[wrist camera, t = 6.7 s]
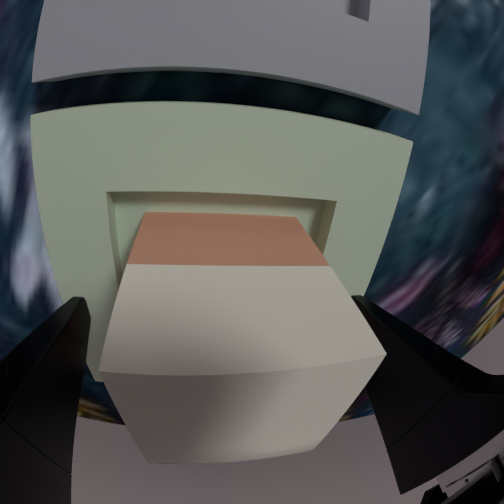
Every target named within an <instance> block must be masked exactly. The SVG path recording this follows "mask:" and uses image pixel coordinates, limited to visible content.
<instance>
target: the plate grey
mask: <svg viewBox="0 0 504 504" xmlns="http://www.w3.org/2000/svg"><path fill="white" fill-rule="evenodd" d="M429 29H430V0H44V4H43V8H42V13H41V18H40V23H39V28H38V33H37V39H36V46H35V54H34V62H33V73H32V83H33V82H56V81H62V80H67V79H73V78H80V77H87V76H95V75H103V74H114V73H126V72H145V71H194V72H214V73H227V74H237V75H247V76H255V77H262V78H269V79H276V80H282V81H288V82H293V83H298V84H303V85H308V86H313V87H317V88H322V89H326V90H330V91H334V92H338V93H342V94H346V95H350V96H353V97H357V98H360V99H364V100H367V101H370V102H373V103H376V104H380V105H383V106H386V107H388V108H391V109H396V110H400V111H405V112H409V113H413V114H417V115H419V111H420V105H421V99H422V93H423V87H424V80H425V72H426V64H427V54H428V43H429Z"/></svg>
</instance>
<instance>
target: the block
mask: <svg viewBox="0 0 504 504" xmlns="http://www.w3.org/2000/svg"><path fill="white" fill-rule="evenodd" d="M386 354H387V353H386V352H385V350H384V348H383V347H382V345H381V344H380V342H379V340H378V339H377V337H376V335H375V334H374V332H373V331H372V329H371V327H370V326H369V324H368V323H367V321H366V319H365V318H364V316H363V315H362V313H361V312H360V310H359V309H358V307H357V305H356V304H355V302H354V301H353V299H352V298H351V296H350V295H349V293H348V292H347V290H346V289H345V287H344V286H343V284H342V283H341V281H340V280H339V278H338V277H337V275H336V274H335V272H334V271H333V269H332V268H331V266H330V265H329V263H328V262H327V260H326V259H325V258H324V256H323V255H322V253H321V252H320V250H319V249H318V247H317V246H316V245H315V243H314V242H313V240H312V239H311V238H310V236H309V235H308V233H307V232H306V230H305V229H304V228H303V226H302V225H301V224H300V222H299V221H298V219H297V218H296V217H289V216H270V215H249V214H224V213H190V212H145V214H144V216H143V219H142V222H141V224H140V227H139V230H138V232H137V235H136V238H135V241H134V244H133V247H132V249H131V252H130V255H129V258H128V261H127V264H126V268H125V271H124V274H123V277H122V280H121V284H120V287H119V290H118V294H117V297H116V301H115V304H114V308H113V312H112V315H111V319H110V323H109V327H108V331H107V335H106V339H105V343H104V348H103V352H102V357H101V362H100V366H99V373H100V375H101V378H102V380H103V382H104V384H105V386H106V388H107V390H108V392H109V394H110V396H111V398H112V400H113V402H114V404H115V406H116V408H117V410H118V412H119V414H120V416H121V418H122V419H123V421H124V423H125V425H126V426H127V428H128V430H129V432H130V433H131V435H132V437H133V438H134V440H135V441H136V443H137V445H138V447H139V448H140V450H141V451H142V453H143V455H144V456H145V458H146V459H147V461H148V462H149V463H157V464H212V463H229V462H240V461H250V460H258V459H265V458H273V457H279V456H285V455H290V454H296V453H301V452H306V451H311V450H313V449H314V448H315V447H316V446H317V445H318V444H319V443H320V442H321V440H322V439H323V438H324V437H325V436H326V435H327V434H328V432H329V431H330V430H331V429H332V428H333V427H334V425H335V424H336V423H337V422H338V421H339V419H340V418H341V417H342V416H343V414H344V413H345V412H346V411H347V409H348V408H349V407H350V406H351V404H352V403H353V402H354V400H355V399H356V398H357V396H358V395H359V394H360V392H361V391H362V389H363V388H364V387H365V385H366V384H367V383H368V381H369V380H370V378H371V377H372V375H373V374H374V372H375V371H376V369H377V368H378V367H379V365H380V363H381V362H382V360H383V359H384V357H385V356H386Z"/></svg>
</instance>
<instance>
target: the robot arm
mask: <svg viewBox="0 0 504 504" xmlns="http://www.w3.org/2000/svg"><path fill="white" fill-rule="evenodd" d="M351 298H352V299H353V301H354V302H355V304H356V305H357V307H358V309H359V310H360V312H361V313H362V315H363V316H364V318H365V319H366V321H367V323H368V324H369V326H370V327H371V329H372V331H373V332H374V334H375V335H376V337H377V339H378V340H379V342H380V344H381V345H382V347H383V348H384V350H385V352H386V353H387V354H386V356H385V357H384V359H383V360H382V362H381V363H380V365H379V367H378V368H377V369H376V371H375V372H374V374H373V375H372V377H371V378H370V380H369V381H368V383H367V384H366V385H365V388H366V391H367V393H368V396H369V399H370V402H371V404H372V407H373V410H374V413H375V416H376V419H377V421H378V425H379V427H380V430H381V434H382V436H383V440H384V443H385V446H386V448H387V452H388V455H389V459H390V462H391V465H392V468H393V471H394V475H395V478H396V482H397V485H398V488H399V491H400V494H401V495H402V494H404V493H406V492H408V491H410V490H412V489H414V488H416V487H418V486H420V485H422V484H423V483H425V482H427V481H429V480H431V479H433V478H435V477H436V479H437V481H438V484H437V485H435V486H434V487H432V488H430V489H429V490H427V491H425V493H424V496H423V499H422V501H421V504H504V375H491V374H487V373H485V372H483V371H481V370H479V369H478V368H476V367H474V366H472V365H471V364H468V363H467V362H465V361H463V360H462V359H460V358H458V357H457V356H455V355H453V354H451V353H450V352H448V351H447V350H445V349H444V348H442V347H441V346H439V345H438V344H436V343H433V341H431V340H430V339H428V338H427V337H425V336H424V335H422V334H421V333H419V332H418V331H416V330H415V329H413V328H412V327H410V326H409V325H407V324H405V323H404V322H402V321H401V320H399V319H398V318H396V317H395V316H393V315H392V314H390V313H388V312H387V311H385V310H384V309H382V308H381V307H379V306H377V305H376V304H374V303H373V302H371V301H370V300H368V299H366V298H365V297H363V296H362V295H352V296H351ZM90 325H91V316H90V313H89V309H88V306H87V302H86V300H85V298H84V297H78V296H73V297H72V298H70V299H69V300H68V301H67V302H66V303H64V304H63V305H62V306H61V307H60V308H59V309H57V310H56V311H55V312H54V313H53V314H52V315H50V316H49V317H48V318H47V319H46V320H45V321H44V322H43V323H41V324H40V325H39V326H38V327H37V328H36V329H35V330H34V331H33V332H31V333H30V334H29V335H28V336H27V337H26V338H25V339H24V340H23V341H22V342H21V343H20V344H19V345H17V346H16V347H15V348H14V349H13V350H12V351H11V352H10V353H9V354H8V355H7V358H6V357H5V358H4V359H3V360H2V361H1V362H0V504H71V477H72V475H71V473H72V472H71V471H72V456H73V444H74V434H75V426H76V418H77V411H78V404H79V398H80V392H81V386H82V381H83V375H84V370H85V365H86V358H87V349H88V340H89V332H90Z"/></svg>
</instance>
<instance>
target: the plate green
mask: <svg viewBox="0 0 504 504" xmlns="http://www.w3.org/2000/svg"><path fill="white" fill-rule="evenodd" d="M31 144H32V159H33V170H34V179H35V187H36V195H37V201H38V207H39V213H40V219H41V224H42V229H43V234H44V238H45V243H46V247H47V251H48V255H49V259H50V263H51V267H52V270H53V274H54V277H55V281H56V284H57V287H58V290H59V294H60V297H61V300H62V303H63V304H64V303H66V302H67V301H68V300H69V299H70V298H72V297H73V296H78V297H84V298H85V300H86V302H87V306H88V309H89V313H90V316H91V325H90V332H89V340H88V349H87V358H86V363H87V365H88V367H89V369H90V371H91V373H92V376H93V378H94V380H95V381H99V382H103V380H102V378H101V375H100V373H99V366H100V362H101V357H102V352H103V348H104V343H105V339H106V335H107V331H108V327H109V323H110V319H111V315H112V312H113V308H114V304H115V301H116V297H117V294H118V290H119V287H120V284H121V280H122V277H123V274H124V271H125V268H126V264H127V261H128V258H129V255H130V252H131V249H132V247H133V244H134V241H135V238H136V235H137V232H138V230H139V227H140V224H141V222H142V219H143V216H144V214H145V212H190V213H224V214H249V215H270V216H289V217H296V218H297V219H298V221H299V222H300V224H301V225H302V226H303V228H304V229H305V230H306V232H307V233H308V235H309V236H310V238H311V239H312V240H313V242H314V243H315V245H316V246H317V247H318V249H319V250H320V252H321V253H322V255H323V256H324V258H325V259H326V260H327V262H328V263H329V265H330V266H331V268H332V269H333V271H334V272H335V274H336V275H337V277H338V278H339V280H340V281H341V283H342V284H343V286H344V287H345V289H346V290H347V292H348V293H349V295H350V296H352V295H362V296H364V294H365V291H366V289H367V287H368V284H369V282H370V279H371V277H372V274H373V271H374V269H375V266H376V264H377V261H378V258H379V256H380V253H381V250H382V247H383V244H384V242H385V239H386V236H387V233H388V230H389V227H390V224H391V221H392V218H393V215H394V211H395V208H396V205H397V202H398V198H399V195H400V191H401V188H402V184H403V181H404V177H405V173H406V170H407V166H408V162H409V158H410V153H411V149H412V145H413V142H412V141H410V140H407V139H404V138H401V137H399V136H396V135H393V134H390V133H387V132H383V131H380V130H376V129H373V128H369V127H365V126H361V125H357V124H353V123H349V122H345V121H340V120H336V119H331V118H326V117H321V116H316V115H311V114H305V113H300V112H294V111H287V110H281V109H274V108H266V107H258V106H249V105H239V104H228V103H214V102H193V101H138V102H118V103H105V104H94V105H84V106H76V107H68V108H61V109H55V110H50V111H46V112H41V113H37V114H33V115H31Z"/></svg>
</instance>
